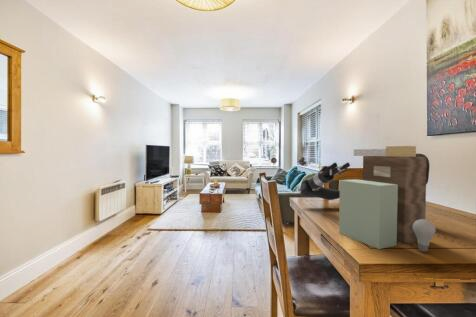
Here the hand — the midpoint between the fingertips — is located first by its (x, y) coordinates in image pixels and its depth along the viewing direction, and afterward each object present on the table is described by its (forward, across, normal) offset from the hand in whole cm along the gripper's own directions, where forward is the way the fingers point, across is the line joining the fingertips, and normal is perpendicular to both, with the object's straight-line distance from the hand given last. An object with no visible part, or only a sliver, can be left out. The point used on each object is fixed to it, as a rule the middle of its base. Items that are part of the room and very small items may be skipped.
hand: (342, 164), depth 121 cm
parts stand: (+9, 0, -37) cm, 38 cm away
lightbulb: (+22, +7, -45) cm, 51 cm away
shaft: (+20, 0, -6) cm, 21 cm away
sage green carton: (+9, +14, -37) cm, 41 cm away
